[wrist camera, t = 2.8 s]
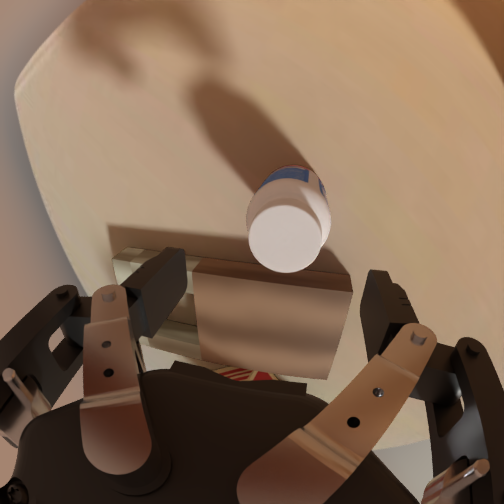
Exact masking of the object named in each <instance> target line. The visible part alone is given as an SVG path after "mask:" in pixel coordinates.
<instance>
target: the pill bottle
mask: <svg viewBox="0 0 504 504" xmlns="http://www.w3.org/2000/svg"><path fill="white" fill-rule="evenodd" d="M246 224H247V229H248V232H249V233H248V241H249V246H250V249H251V251H252V253H253V255H254V256H255V258H256V259H257V260H258V261H259V262H260V263H261V264H262V265H264V266H265V267H267V268H269V269H271V270H273V271H277V272H283V273H290V272H296V271H299V270H301V269H304V268H306V267H307V266H309V265H310V264H311V263H312V262H313V261H314V260H315V259H316V257H317V255H318V254H319V251H320V248H321V247H322V245H323V244H324V243H325V241H326V239H327V237H328V235H329V232H330V227H331V215H330V209H329V205H328V200H327V196H326V192H325V188H324V186H323V184H322V182H321V180H320V179H319V177H318V176H317V175H316V174H315V173H314V172H312V171H311V170H309V169H308V168H305V167H303V166H298V165H288V166H284V167H281V168H279V169H277V170H275V171H274V172H272V173H271V174H270V175H269V176H268V178H267V179H266V180H265V181H264V183H263V184H262V185H261V186H260V188H259V189H258V190H257V192H256V193H255V194H254V196H253V198H252V200H251V201H250V204H249V206H248V209H247V214H246Z"/></svg>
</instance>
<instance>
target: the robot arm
mask: <svg viewBox="0 0 504 504" xmlns="http://www.w3.org/2000/svg"><path fill="white" fill-rule="evenodd" d="M187 284H188V279H187V269H186V258H185V252H184V250H183V249H180V248H171V247H166V248H165V249H164V250H163V251H162V252H161V253H160V254H159V255H157V256H155V257H153V258H151V259H149V260H147V261H145V262H144V263H143V264H142V265H141V266H140V268H138V269H137V270H136V271H135V272H133V273H132V274H131V275H130V276H129V277H128V278H127V279H126V280H125V281H124V282H122V283H121V284H120V285H107V286H104V287H101V288H99V289H98V290H96V291H95V292H94V294H93V296H92V297H80V296H79V293H78V290H77V287H76V286H73V285H63V286H60V287H58V288H56V289H54V290H53V291H52V292H51V293H49V294H48V295H47V296H46V297H45V298H44V299H43V300H42V301H41V302H39V303H38V304H37V305H36V306H35V307H34V308H33V309H32V310H31V311H30V312H29V313H27V314H26V315H25V316H24V317H23V318H22V319H21V320H20V321H19V322H18V323H17V324H16V325H15V326H14V327H13V328H12V329H11V330H10V331H9V332H8V333H7V334H6V335H5V336H4V337H3V338H2V339H1V340H0V435H1V436H2V437H3V438H4V439H5V440H6V441H7V442H9V443H10V444H11V445H12V446H13V447H15V448H18V455H17V460H16V465H15V469H14V472H13V475H12V477H11V479H10V481H9V482H8V483H7V484H6V485H5V486H3V487H2V488H0V504H420V503H419V502H418V501H417V499H416V498H415V497H414V496H413V495H412V494H411V493H410V492H409V490H408V489H407V488H406V487H405V486H404V485H403V484H402V483H401V482H400V481H399V480H398V479H397V478H396V477H395V476H394V475H393V473H392V472H391V471H390V470H389V469H388V468H387V467H386V466H385V465H384V464H383V462H382V461H381V460H380V459H379V458H378V457H377V456H376V455H375V454H374V452H373V451H372V448H373V447H374V446H375V445H376V443H377V442H378V441H379V439H380V438H381V437H382V435H383V434H384V433H385V431H386V430H387V428H388V427H389V426H390V424H391V423H392V421H393V420H394V418H395V417H396V415H397V414H398V412H399V411H400V409H401V408H402V406H403V405H404V403H405V402H406V400H407V398H408V397H411V398H415V399H419V400H423V401H425V406H426V412H427V419H428V426H429V433H430V442H431V451H432V463H433V479H432V480H431V481H430V482H429V483H428V484H427V486H426V488H425V491H424V495H423V499H422V501H421V504H504V390H503V388H502V385H501V383H500V380H499V378H498V375H497V373H496V370H495V368H494V366H493V363H492V361H491V359H490V357H489V355H488V352H487V350H486V348H485V347H484V346H483V345H482V344H481V343H480V342H479V341H477V340H475V339H473V338H470V337H464V338H461V339H459V341H458V342H457V344H456V346H455V347H451V346H447V345H444V344H440V343H437V338H436V335H435V334H434V332H433V331H432V330H431V329H429V328H428V327H426V326H424V325H422V324H419V321H418V319H417V317H416V314H415V312H414V310H413V308H412V306H411V303H410V301H409V300H408V297H407V295H406V292H405V290H403V289H402V288H401V287H400V286H399V285H398V284H396V283H392V280H391V278H390V276H389V274H388V272H387V271H381V270H370V271H369V273H368V276H367V280H366V284H365V288H364V292H363V296H362V300H361V305H360V317H361V323H362V328H363V334H364V339H365V345H366V351H367V358H368V364H367V365H366V366H365V367H364V368H363V369H362V371H361V372H360V373H359V374H358V375H357V376H356V377H355V378H354V379H353V380H352V381H351V382H350V384H349V385H348V386H347V387H346V388H345V389H344V390H343V391H342V392H341V393H340V394H339V395H338V396H337V397H336V398H335V399H334V400H333V401H332V402H331V403H330V404H328V403H327V402H325V401H323V400H321V399H320V398H317V397H315V396H313V395H310V394H307V393H306V388H307V383H298V382H289V381H281V380H251V381H236V380H233V379H230V378H228V377H225V376H223V375H221V374H218V373H216V372H214V371H212V370H209V369H207V368H205V367H201V366H196V365H192V364H188V363H183V362H179V361H174V363H173V365H172V366H171V368H170V369H158V370H151V371H146V367H145V363H144V359H143V354H142V350H141V345H140V342H139V338H140V337H141V336H144V337H148V338H151V339H152V338H153V337H154V336H155V334H156V333H157V331H158V330H159V328H160V327H161V326H162V324H163V323H164V321H165V320H166V319H167V317H168V316H169V314H170V313H171V312H172V310H173V309H174V307H175V306H176V305H177V303H178V302H179V300H180V299H181V298H182V296H183V295H184V293H185V292H186V289H187ZM59 327H60V328H61V330H62V332H63V335H64V337H65V338H64V339H63V340H62V341H61V343H59V345H58V346H57V347H56V348H55V349H54V350H53V352H52V353H51V351H50V349H49V346H48V342H49V339H50V337H51V335H52V334H53V333H54V332H55V331H56V330H57V329H58V328H59ZM82 364H83V390H84V391H83V392H84V398H82V399H80V400H77V401H75V402H72V403H70V404H67V405H65V406H62V407H60V408H57V409H54V410H51V408H52V407H53V405H54V404H55V402H56V401H57V400H58V398H59V397H60V395H61V394H62V392H63V391H64V389H65V388H66V387H67V385H68V384H69V382H70V381H71V379H72V378H73V377H74V375H75V374H76V373H77V371H78V370H79V368H80V367H81V366H82ZM461 396H462V398H463V401H464V412H463V408H462V404H461V400H460V397H461Z"/></svg>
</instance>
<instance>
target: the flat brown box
mask: <svg viewBox="0 0 504 504" xmlns="http://www.w3.org/2000/svg"><path fill="white" fill-rule="evenodd" d="M160 253H161V252H159V251H152V250H144V249H137V248H130V247H127V248H125V249H124V250H123V251H121V252H120V253H119V254H117V255H116V256H115V257H114V258H112V262H113V266H114V271H115V275H116V280H117V284H118V285H120V284H121V283H122V282H124V281H125V280H126V279H127V278H128V277H129V276H130V275H131V274H132V273H133V272H135V271H136V270H137V269H138V268H140V266H141V265H142V264H143V263H144V262H145V261H147V260H149V259H151V258H153V257H155V256H157V255H159V254H160ZM185 258H186V269H187V279H188V284H187V289H186V292H185V293H190V294H194V302H195V311H196V320H197V326H193V325H188V324H183V323H179V322H174V321H170V320H165V321H164V323H163V324H162V326H161V327H160V328H159V330H158V331H157V333H156V334H155V336H154V337H153V338H152V339H151V338H148V337H144V336H141V337H140V338H139V342H140V344H143V345H146V346H149V347H153V348H156V349H160V350H163V351H167V352H171V353H175V354H179V355H182V356H187V357H191V358H195V359H199V360H203V361H208V362H212V363H217V364H222V365H227V366H232V367H237V368H243V369H248V370H254V371H260V372H266V373H273V374H280V375H287V376H295V377H303V378H313V379H323V380H327V378H328V375H329V372H330V369H331V366H332V363H333V360H334V357H335V354H336V351H337V348H338V344H339V341H340V338H341V335H342V331H343V328H344V324H345V321H346V317H347V314H348V310H349V306H350V303H351V299H352V295H353V289H352V284H351V278H350V275H344V274H336V273H327V272H318V271H310V270H299V271H296V272H290V273H283V272H277V271H273V270H271V269H269V268H267V267H265V266H264V265H260V264H252V263H244V262H236V261H228V260H220V259H212V258H204V257H197V256H189V255H185Z"/></svg>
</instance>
